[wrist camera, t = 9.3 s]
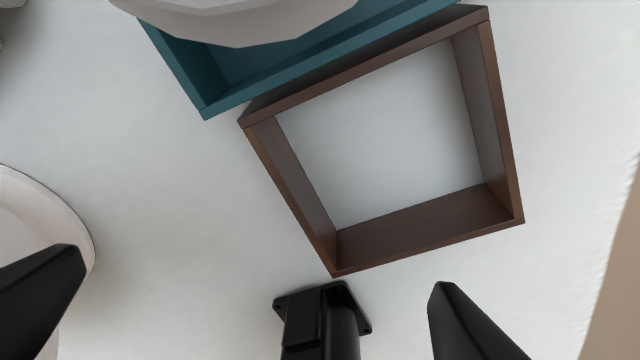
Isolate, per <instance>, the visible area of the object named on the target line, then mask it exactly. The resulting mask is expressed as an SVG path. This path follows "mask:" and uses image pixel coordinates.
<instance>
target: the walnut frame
mask: <svg viewBox="0 0 640 360" xmlns="http://www.w3.org/2000/svg"><path fill="white" fill-rule="evenodd" d="M450 36H451V40H452V44H453V48H454V53H455V57H456V61H457V65H458V70H459V74H460V78H461V82H462V87H463V91H464V95H465V100H466V104H467V108H468V112H469V117H470V121H471V125H472V130H473V134H474V138H475V142H476V147H477V151H478V155H479V160H480V164H481V168H482V172H483V177H484V181H485V183H482V184H479V185H476V186H473V187H470V188H467V189H464V190H461V191H458V192H454V193H451V194H448V195H445V196H442V197H439V198H436V199H433V200H430V201H427V202H424V203H421V204H418V205H415V206H412V207H409V208H406V209H403V210H400V211H397V212H394V213H390V214H387V215H384V216H381V217H378V218H375V219H372V220H369V221H366V222H363V223H360V224H357V225H354V226H351V227H348V228H345V229H342V230H339V231H336V229H335V227H334V225H333V223H332V222H331V220H330V218H329V216H328V214H327V212H326V211H325V209H324V207H323V205H322V203H321V201H320V200H319V198H318V196H317V194H316V192H315V190H314V189H313V187H312V185H311V183H310V181H309V179H308V178H307V176H306V174H305V172H304V170H303V168H302V166H301V165H300V163H299V161H298V159H297V157H296V155H295V154H294V152H293V150H292V148H291V146H290V144H289V143H288V141H287V139H286V137H285V135H284V133H283V132H282V130H281V128H280V126H279V124H278V122H277V121H276V119H275V117H274V115H276V114H278V113H280V112H283V111H285V110H287V109H289V108H291V107H294V106H296V105H298V104H300V103H303V102H305V101H307V100H309V99H312V98H314V97H316V96H318V95H321V94H323V93H325V92H327V91H329V90H332V89H334V88H336V87H338V86H341V85H343V84H345V83H347V82H350V81H352V80H354V79H356V78H359V77H361V76H363V75H365V74H367V73H370V72H372V71H374V70H376V69H379V68H381V67H383V66H385V65H388V64H390V63H392V62H394V61H397V60H399V59H401V58H403V57H405V56H408V55H410V54H412V53H414V52H417V51H419V50H421V49H423V48H426V47H428V46H430V45H432V44H435V43H437V42H439V41H441V40H443V39H446V38H448V37H450ZM237 122H238V124H239V125H240V127H241V129H243V132H244V133H245V135H246V137H247V138H248V140H249V142H250V143H251V145H252V147H253V148H254V150H255V152H256V153H257V155H258V156H259V158H260V160H261V161H262V163H263V165H264V166H265V168H266V170H267V171H268V173H269V175H270V176H271V178H272V179H273V181H274V183H275V184H276V186H277V188H278V189H279V191H280V193H281V194H282V196H283V198H284V199H285V201H286V203H287V204H288V206H289V207H290V209H291V211H292V212H293V214H294V216H295V217H296V219H297V221H298V222H299V224H300V226H301V227H302V229H303V230H304V232H305V234H306V235H307V237H308V239H309V240H310V242H311V244H312V245H313V247H314V249H315V250H316V252H317V253H318V255H319V257H320V258H321V260H322V262H323V263H324V265H325V267H326V268H327V270H328V272H329V273H330V275H331V276H332V278H333V279H334V278H338V277H341V276H345V275H348V274H351V273H355V272H358V271H362V270H365V269H369V268H372V267H376V266H379V265H383V264H386V263H389V262H393V261H396V260H400V259H403V258H407V257H410V256H414V255H417V254H421V253H424V252H427V251H431V250H434V249H438V248H441V247H445V246H448V245H452V244H455V243H459V242H462V241H465V240H469V239H472V238H476V237H479V236H483V235H486V234H490V233H493V232H497V231H500V230H504V229H507V228H510V227H514V226H517V225H521V224H524V223H525V219H524V213H523V207H522V201H521V196H520V190H519V184H518V178H517V173H516V167H515V161H514V156H513V150H512V144H511V138H510V133H509V127H508V121H507V115H506V110H505V104H504V98H503V92H502V87H501V81H500V75H499V70H498V64H497V58H496V52H495V47H494V41H493V35H492V29H491V24H490V20H489V12H488V7H487V6H484V5H469V4H455V3H454V4H452V5H450V6H448V7H446V8H443V9H441V10H439V11H437V12H435V13H433V14H431V15H429V16H426V17H424V18H422V19H420V20H418V21H416V22H414V23H412V24H410V25H407V26H405V27H403V28H401V29H399V30H397V31H395V32H393V33H390V34H388V35H386V36H384V37H382V38H380V39H378V40H376V41H373V42H371V43H369V44H367V45H365V46H363V47H361V48H359V49H356V50H354V51H352V52H350V53H348V54H346V55H344V56H342V57H339V58H337V59H335V60H333V61H331V62H329V63H327V64H325V65H322V66H320V67H318V68H316V69H314V70H312V71H310V72H308V73H305V74H303V75H301V76H299V77H297V78H295V79H293V80H291V81H288V82H286V83H284V84H282V85H280V86H278V87H276V88H274V89H271V90H269V91H267V92H265V93H263V94H261V95H259V96H257V97H255V98H254V99H253V100H252V101H251V103H250V104H249V105H248V107H247V108H246V109H245V110H244V112H243V113H242V114H241V116H240V117H239V118H238V119H237Z"/></svg>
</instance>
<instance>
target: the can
mask: <svg viewBox="0 0 640 360" xmlns="http://www.w3.org/2000/svg"><path fill="white" fill-rule="evenodd" d="M108 1H110V2H111V3H112V4H113V5H114V6H116V7H118V8H120V9H122V10H124V11H126V12H128V13H130V14H131V15H133V16H135V17H137V18H139V19H141V20H143V21H145V22H147V23H149V24H151V25H153V26H155V27H157V28H159V29H161V30H163V31H165V32H166V33H168V34H170V35H172V36H174V37H176V38H182V39H188V40H193V41H199V42H204V43H210V44H216V45H221V46H227V47H232V48H241V47H248V46H254V45H260V44H266V43H272V42H278V41H284V40H290V39H296V38H298V37H299V36H301V35H303V34H305V33H307V32H308V31H310V30H312V29H314V28H316V27H317V26H319V25H321V24H323V23H325V22H326V21H328V20H330V19H332V18H334V17H335V16H337V15H339V14H341V13H342V12H344V11H346V10H348V9H350V8H351V7H353V6H354V4H355V3H356V2H357V1H358V0H108Z"/></svg>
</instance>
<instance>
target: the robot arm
mask: <svg viewBox="0 0 640 360" xmlns="http://www.w3.org/2000/svg"><path fill="white" fill-rule="evenodd" d="M86 273H87V268H86V265H85V262H84V259H83V256H82V254H81V251H80V249H79V247H78V246H77V245H75V244H66V243H57V244H54V245H52V246H50V247H47V248H45V249H43V250H40V251H38V252H36V253H34V254H31V255H29V256H27V257H24V258H22V259H20V260H18V261H15V262H13V263H11V264H8V265H6V266H4V267H2V268H0V360H35V358H36V357H37V355H38V354H39V353H40V351H41V350H42V348H43V347H44V346H45V344H46V343H47V341H48V340H49V338H50V337H51V335H52V333H53V332H54V330H55V329H56V327H57V325H58V323H59V322H60V320H61V318H62V317H63V315H64V313H65V311H66V310H67V308H68V306H69V305H70V303H71V301H72V299H73V298H74V296H75V294H76V292H77V291H78V289H79V287H80V286H81V284H82V282H83V280H84V279H85V276H86ZM272 308H273V309H274V310H275V312H276V313H277V314H278V315H279V317H280V318H281V319H282V321H283V322H284V323H285V324H284V330H283V337H282V343H281V345H282V351H281V358H280V360H361V355H360V341H359V337H360V336H364V335H368V334H371V333H372V325H371V324H370V322H369V320H368V319H367V317H366V315H365V313H364V312H363V310H362V308H361V307H360V305H359V303H358V301H357V300H356V298H355V296H354V295H353V293H352V291H351V289H350V288H349V286H348V284H347V283H346V282H345V281H337V282H333V283H330V284H326V285H323V286H319V287H316V288H312V289H309V290H305V291H302V292H298V293H295V294H291V295H288V296H284V297H281V298H277V299H275V300H274V301H273V304H272ZM427 314H428V321H429V328H430V335H431V341H432V348H433V355H434V360H532V359H531V358H530V357H529V356H528V355H527V354H525V353H524V352H523V351H522V350H521V349H520V348H519V347H518V346H517V345H516V344H515V343H514V342H513V341H512V340H511V339H510V338H509V337H508V336H507V335H506V334H505V333H504V332H503V331H502V330H501V329H500V328H499V327H498V326H497V325H496V324H495V323H494V322H493V321H492V320H491V319H490V318H489V317H488V316H487V315H486V314H485V313H484V312H483V311H482V310H481V309H480V308H479V307H478V306H477V305H476V304H475V303H474V302H473V301H472V300H471V299H470V298H469V297H468V296H467V295H466V294H465V293H464V292H463V291H462V290H461V289H460V288H459V287H458V286H457V285H456V284H454V283H452V282H443V281H438V282H436V283H435V285H434V288H433V290H432V293H431V296H430V298H429V301H428V304H427Z"/></svg>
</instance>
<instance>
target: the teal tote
mask: <svg viewBox="0 0 640 360" xmlns="http://www.w3.org/2000/svg"><path fill="white" fill-rule="evenodd" d="M458 1H460V0H358V1H357V2H356V3H355V4H354V6H353V7H351V8H350V9H348V10H346V11H344V12H342V13H341V14H339V15H337V16H335V17H334V18H332V19H330V20H328V21H326V22H325V23H323V24H321V25H319V26H317V27H316V28H314V29H312V30H310V31H308V32H307V33H305V34H303V35H301V36H299V37H298V38H296V39H290V40H284V41H278V42H272V43H266V44H260V45H254V46H248V47H241V48H232V47H227V46H221V45H216V44H210V43H204V42H199V41H193V40H188V39H182V38H176V37H174V36H172V35H170V34H168V33H166V32H165V31H163V30H161V29H159V28H157V27H155V26H153V25H151V24H149V23H147V22H145V21H143V20H141V19H139V18H137V17H136V18H137V19H138V21H139V22H140V24H141V25H142V27H143V28H144V30H145V31H146V33H147V34H148V36H149V37H150V39H151V41H152V42H153V44H154V45H155V47H156V48H157V50H158V51H159V53H160V54H161V56H162V57H163V59H164V60H165V62H166V63H167V65H168V66H169V68H170V69H171V71H172V72H173V74H174V75H175V77H176V78H177V80H178V81H179V83H180V84H181V86H182V87H183V89H184V91H185V92H186V94H187V95H188V97H189V98H190V100H191V101H192V103H193V104H194V106H195V107H196V109H197V110H199V113H200V115H201V116H202V118H203V119H204V121H206V120H208V119H210V118H212V117H214V116H216V115H218V114H221V113H223V112H225V111H227V110H229V109H231V108H233V107H235V106H238V105H240V104H242V103H244V102H246V101H248V100H250V99H252V98H255V97H257V96H259V95H261V94H263V93H265V92H267V91H269V90H271V89H274V88H276V87H278V86H280V85H282V84H284V83H286V82H288V81H291V80H293V79H295V78H297V77H299V76H301V75H303V74H305V73H308V72H310V71H312V70H314V69H316V68H318V67H320V66H322V65H325V64H327V63H329V62H331V61H333V60H335V59H337V58H339V57H342V56H344V55H346V54H348V53H350V52H352V51H354V50H356V49H359V48H361V47H363V46H365V45H367V44H369V43H371V42H373V41H376V40H378V39H380V38H382V37H384V36H386V35H388V34H390V33H393V32H395V31H397V30H399V29H401V28H403V27H405V26H407V25H410V24H412V23H414V22H416V21H418V20H420V19H422V18H424V17H426V16H429V15H431V14H433V13H435V12H437V11H439V10H441V9H443V8H446V7H448V6H450V5H452V4H454V3H456V2H458Z"/></svg>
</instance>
